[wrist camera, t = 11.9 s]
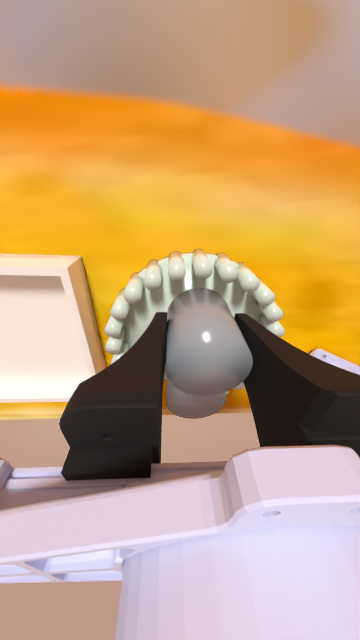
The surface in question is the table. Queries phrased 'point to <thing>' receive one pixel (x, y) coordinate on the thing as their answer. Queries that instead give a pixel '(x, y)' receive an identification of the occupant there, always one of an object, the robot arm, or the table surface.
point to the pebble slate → (204, 344)
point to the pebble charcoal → (192, 403)
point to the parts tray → (45, 328)
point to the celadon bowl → (178, 276)
